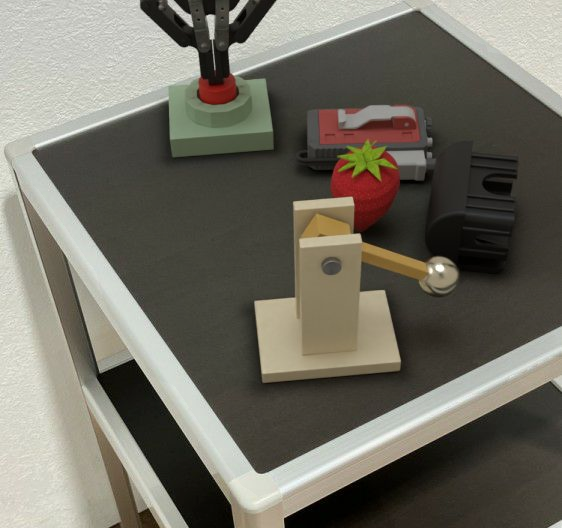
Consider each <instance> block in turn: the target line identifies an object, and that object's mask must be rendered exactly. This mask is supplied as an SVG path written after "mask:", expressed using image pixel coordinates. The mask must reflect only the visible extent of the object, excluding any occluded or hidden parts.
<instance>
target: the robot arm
mask: <svg viewBox="0 0 562 528" xmlns="http://www.w3.org/2000/svg"><path fill="white" fill-rule="evenodd" d="M173 1H174V2H175V4H176V5H177V6H178V7H179V8H180V9H181V10H182V11H183V12H185V13H186V14H187V15H190V17H191V22H192V25H191V26H190V24H189V23H188V22H187V21H186V20H185V18H182V16H181V15H180V14H179V13H177V11H176V10H175V9H173V8H172V6H170V5H169V0H139V9H140V10H141V11H142V12H143V13H144V14H145V15H146V16H147V17H148V18H149V19H150V20H151V21H152V22H153V23H155V24H156V26H158V27H159V28H160V29H161V30H162V31H163V32H164V33H165V34H166V35H167V36H168V37H169V38H171V40H172V41H174V42H175V43H176V44H177V45H178V46H179V47H180V48H185V49H186V48H189V47H191V48H193V49H195V50H196V51H197V54H198V65H199V72H200V77H202V79H203V80H205V79H208V81H209V85H215V84H216V83H217V84H224V82H223V78H228V77H229V75H230V73H231V68H230V55H229V54H230V53H229V50H230V47H231V46H233V45H234V44H240V45H241V44H244V43H246V42H247V41H248V39H249V38H250V36H251V35H252V34H253V33H254V31H255V30H256V28H258V26H259V24H260V23H261V22H262V21H263V19H264V18H265V17H266V15H267V14H268V13H269V11H270V10H271V9H272V7H273V6H274V5H275V4H276V2H277V0H248V1H246V3H245V5H244V6H243V7H242V9H241V10H240V12H239V13H238V14H237V15H236V17H235V18H234V20H233V21H232V23H230V12H232V11H233V10H235V8H237V6H238V5H239V3H240V1H241V0H173ZM209 15H211V16H213V19H214V21H213V23H214V25H213V27H214V29H213V30H214V32H213V38H212V39H211V35H210V28H209V27H210V26H209V23H208V17H207V16H209ZM215 72H216V79H215Z"/></svg>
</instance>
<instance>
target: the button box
mask: <svg viewBox="0 0 562 528" xmlns="http://www.w3.org/2000/svg"><path fill="white" fill-rule="evenodd" d="M233 76H234V77H235V82H236V98H235V99H234V100H233V101H231V102H229V103H226V104H222V105H210V104H206V103H203V102H202V101H201V99H200V93H199V84H198V81H199V78H200V77H198V78H196V79H193V80H192V81H191V82H190V83H187V84H177V85H176V84H175V85H168V87H167V89H168V118H169V123H168V124H169V142H170V149H171V156H172V158H182V157H195V156H198V157H199V156H209V155H220V154H234V153H247V152H258V151H259V152H260V151H261V152H262V151H271V150H272V151H273V150H275V145H274V144H275V143H274V128H273V127H274V126H273V122H272V121H273V120H272V115H271V107H270V100H269V94H268V85H267V79H266V78H254V79H244V78H242V77H240V76H238V75H234V74H233Z"/></svg>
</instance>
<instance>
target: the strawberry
mask: <svg viewBox="0 0 562 528" xmlns="http://www.w3.org/2000/svg"><path fill="white" fill-rule="evenodd" d="M376 142H377V141H375V142H374V143H376ZM374 143H373V144H374ZM373 144H372V145H373ZM372 145H370V142H369V139H367V141H366V143H365V144H364V146H363V147H358V148H354V147H351V146H347V148H348V149H350V150H351V151H350V152H348V153H347V154H345V155H338V156H337V157H338V158H341V159H340V160H339V161H338V162H337V164H336V166H335V168H334V169H333V172H332V175H331V180H330V187H329V188H330V192H331V193H330V194H331V197H332V198H343V197H353V201H354V227H353V230H355V231H357V232H359V233H361V232H365V231H367V230H368V229H369V228H370V227H372V226H373V225H374V224H376V223H377V222H378V221H379V220H380V219H381V218H382V217H383V216H384V215H385V214H387V212H388V211H389V210H390V209H391V207H392V206H393V204H394V201H395V198H396V196H397V193H398V192H399V189H400V184H401V180H400V176H399V168H398V164H397V162H396V160H395V159H394V158H393V157H392V156H391V155H390V154H389V153H388V152H386V151H385V148H386V147H387V146H384V147H380V148H379V147H374V146H372Z"/></svg>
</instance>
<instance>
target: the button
mask: <svg viewBox="0 0 562 528" xmlns="http://www.w3.org/2000/svg"><path fill="white" fill-rule="evenodd" d="M233 75H234V74H233V73H232V72H230V75H229V77H228V78H223V82H224V84H217V83H216V84H215V85H209V81H208V79H205V80H203V79H202V77H201V76H200V77H198V78H199V81H198V84H199V93H200V99H201V101H202V102H203V103H206V104H210V105H222V104H226V103H229V102H231V101H233V100H234V99H235V98H236V82H235V77H234V76H235V75H234V76H233ZM215 79H216V72H215Z"/></svg>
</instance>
